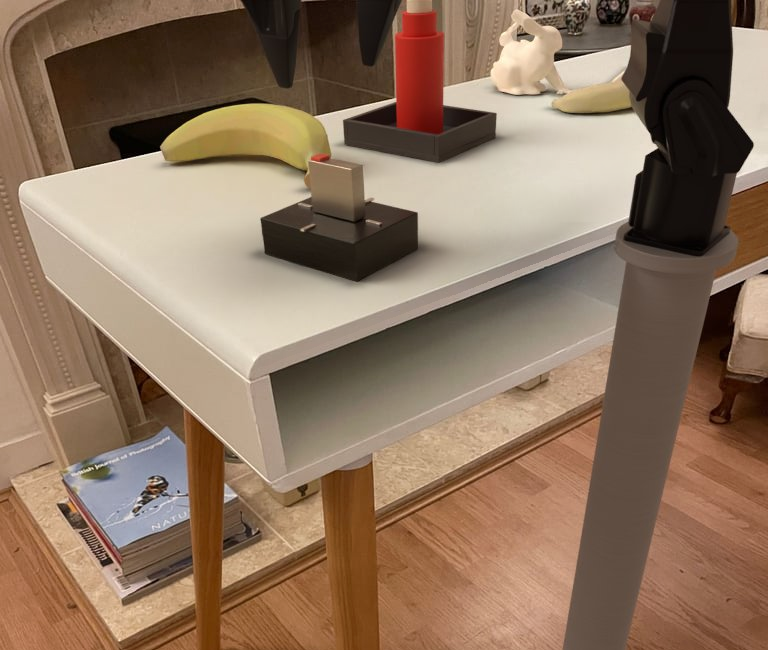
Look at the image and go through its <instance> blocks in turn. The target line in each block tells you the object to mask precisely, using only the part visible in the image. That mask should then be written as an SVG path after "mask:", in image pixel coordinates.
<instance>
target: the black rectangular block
mask: <svg viewBox="0 0 768 650" xmlns="http://www.w3.org/2000/svg"><path fill="white" fill-rule="evenodd" d="M259 221H260V227H261V235H262V242H263V250H264V254H265V255H267V256H271V257H274V258H278V259H281V260H284V261H287V262H291V263H294V264H297V265H301V266H305V267H308V268H310V269H314V270H318V271H321V272H324V273H327V274H330V275H334V276H337V277H341V278H343V279H347V280H351V281H354V282H358V281H360V280H362V279H363V278H366V277H368V276H369V275H371V274H374V273H375V272H377V271H379V270H380V269H383V268H384V267H386V266H388V265H390V264H392V263H393V262H395V261H397V260H400V259H401V258H403V257H405V256H407V255H408V254H410V253H413V252H414V251H416V250H418V249H419V213H418V211H414V210H409V209H405V208H401V207H397V206H392V205H388V204H383V203H379V202H376V201H375V198H374V197H369V198H366V199H365V217H364V218H362V219H360V220H358V221H355V222H353V221H349V220H345V219H341V218H337V217H333V216H329V215H325V214H321V213H317V212H313V209H312V198H311V196H310V197H308V198H305V199H303V200H300V201H298V202H296V203H295V202H294V203H293V204H291V205H288V206H286V207H284V208H280V209H278V210H276V211H274V212H271V213H269V214H266V215H264V216H262V217H260V220H259Z"/></svg>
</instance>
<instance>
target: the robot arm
mask: <svg viewBox="0 0 768 650" xmlns="http://www.w3.org/2000/svg"><path fill="white" fill-rule="evenodd" d="M239 1H240V2H241V4H242V6H243V8H244V9H245V12H246V13H247V16H248V18H249V20H250V21H251V23H252V26H253V28H254V30H255V33H256V35H257V38H258V40H259V43H260V46H261V48H262V51H263V53H264V56H265V58H266V60H267V63H268V64H269V67H270V70H271V73H272V75H273V77H274V80H275V82H276V85H277V86H278V88H280V89H286V90H289V89H292V88H293V86H294V81H295V73H296V68H297V58H298V46H299V44H298V43H299V32H300V22H301V21H300V20H301V7H302V0H239ZM402 1H403V0H355V2H356V3H355V5H356V18H357V32H358V44H359V45H358V46H359V50H360V51H359V52H360V58H361V63H362V65H363V66H365V67H371V68H372V67H375V66H376V65H377V63H378V60H379V59H380V56H381V53H382V51H383V48H384V46H385V43H386V41H387V38H388V36H389V33H390V31H391V28H392V25H393V23H394V21H395V18H396V16H397V13H398V10H399V8H400V6H401V4H402ZM731 4H732V2H731V0H659V3H658V5H657V7H656V9H655V11H654V14H653V16H652V19H651V21H647V20H642V19H636V18H634V19H632V20H631V25H630V26H631V27H630V53H629V59H628V62H627V66H626V68H625V69H626V70H625V69H624V70H625V72H624V74H623V76H622V78H621V80H622V82H623V83H624V84H625V86H626V87H627V88H628V90H629V99H630V103H631V106H632V107H631V108H632V110H633V112H634V114H635V115H636V116H637V117H638V119H639V120H640V122H641V123H642V125H643V126H644V128H645V129H646V130H647V132H648V133H649V135H650V140H651V143H652V144H654V145H655V146H656V147H657V148H656V149H654V150H652V151H650V152H649V153H647V154H645V156H644V160H643V161H644V162H643V168H642V170H641V171H640V172H638V173H637V174H636V175H635V178H634V184H633V189H632V190H633V191H632V197H631V203H630V208H629V216H628V221H627V222H628V224H629V226H630V227H633V228H632V229H630V230H629V231H627V232H626V233H625V234H624V238H623V240H624V241H627V242H632V243H636V244H641V245H646V246H650V247H655V248H659V249H664V250H668V251H673V252H677V253H682V254H686V255H691V256H696V257H700V256H703V255H704V254H705V253H707V252H708V251H709V250H710V249H711V248H713V247H714V246H715V245H716V244H717V243H718V242H720V241H721V240H722V239H723V238H724V237H726V236H727V235H728V234H729V233H730V230H731V228H732V227H731V226H730V225H727V224H726V221H727V217H728V213H729V208H730V205H731V199H732V196H733V192H734V188H735V185H736V183H735V182H736V179H737V174H738V173H740V171H741V170H742V168H743V166H744V165H745V162H746V160H748V157H749V156H750V155H751V152H752V151H753V149H754V147H755V143H754V141H753V140H752V139H751V137H750V136H749V135H748V133H747V132H746V131H745V129H744V128H743V127H742V125H741V124H740V122H739V121H738V120H737V119H736V118H735V116H734V115H733V113H732V112H731V111H730V110H729V105H730V99H731V89H732V88H731V87H732V74H733V59H734V41H733V40H734V39H733V22H732V21H733V20H732V5H731Z"/></svg>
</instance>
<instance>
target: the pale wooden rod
mask: <svg viewBox="0 0 768 650" xmlns="http://www.w3.org/2000/svg"><path fill="white" fill-rule="evenodd" d="M625 70H626V68H625V69H624V70H622V72H621V73H619V74H618V75H617V76H615V78H614V79H612V80H611V81H610V82H615V81H621V78H622V76H623V74H624V72H625Z"/></svg>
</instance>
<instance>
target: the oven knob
mask: <svg viewBox="0 0 768 650" xmlns="http://www.w3.org/2000/svg"><path fill="white" fill-rule="evenodd" d="M308 165H309V176H310V187H311V189H310V197H311V198H312V209H313V212H317V213H321V214H325V215H329V216H333V217H337V218H341V219H345V220H349V221H353V222H355V221H358V220H360V219H362V218H364V217H365V200H366V199H365V181H364V179H365V177H364V164H362V163H355V162H351V161H346V160H342V159H336V158H333V157H331V158H329V155H326V154H321V153H320V154H317V155H314V156H312V157H311V159H310V160H308Z"/></svg>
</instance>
